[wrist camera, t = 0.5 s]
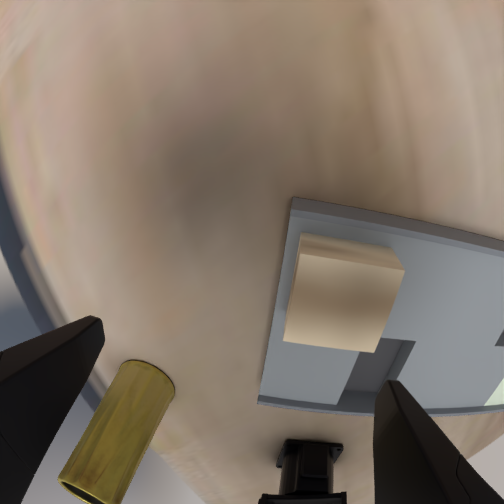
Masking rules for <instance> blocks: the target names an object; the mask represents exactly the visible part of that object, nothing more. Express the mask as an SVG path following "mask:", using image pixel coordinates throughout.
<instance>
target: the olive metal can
mask: <svg viewBox="0 0 504 504" xmlns="http://www.w3.org/2000/svg"><path fill="white" fill-rule="evenodd" d="M174 393H175V391H174V387H173V384H172V383H171V381H170V379H169V378H168V377H167V376H166V375H165V374H164V373H163V372H161V371H160V370H159V369H157V368H155V367H154V366H152V365H150V364H147V363H144V362H141V361H127V362H125V363H123V364H122V365H121V366H120V368H119V372H118V373H117V375H116V377H115V378H114V380H113V382H112V383H111V385H110V386H109V388H108V390H107V392H106V393H105V395H104V397H103V399H102V401H101V403H100V405H99V406H98V408H97V410H96V411H95V413H94V415H93V417H92V419H91V421H90V423H89V425H88V427H87V428H86V430H85V432H84V434H83V435H82V437H81V439H80V441H79V442H78V444H77V446H76V448H75V449H74V451H73V452H72V454H71V456H70V458H69V459H68V461H67V463H66V465H65V466H64V468H63V470H62V471H61V473H60V474H59V476H58V482H59V484H60V485H61V486H62V487H63V488H64V489H66V490H67V491H68V492H70V493H71V494H72V495H74V496H75V497H77V498H78V499H80V500H82V501H83V502H85V503H87V504H121V502H122V500H123V497H124V495H125V493H126V491H127V489H128V487H129V485H130V483H131V481H132V479H133V477H134V475H135V472H136V470H137V468H138V466H139V464H140V462H141V460H142V458H143V456H144V454H145V451H146V450H147V448H148V446H149V444H150V442H151V440H152V438H153V436H154V434H155V431H156V429H157V427H158V425H159V423H160V422H161V420H162V418H163V416H164V414H165V412H166V410H167V408H168V406H169V404H170V402H171V401H172V400H173V398H174Z"/></svg>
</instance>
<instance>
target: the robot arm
mask: <svg viewBox="0 0 504 504" xmlns="http://www.w3.org/2000/svg"><path fill="white" fill-rule="evenodd" d="M104 342H105V335H104V329H103V323H102V320H101V319H100V318H98V317H95V316H91V315H90V316H87V317H84V318H82V319H79V320H77V321H74V322H72V323H69V324H67V325H64V326H62V327H60V328H57V329H55V330H52V331H50V332H47V333H45V334H42V335H40V336H38V337H35V338H33V339H30V340H28V341H25V342H23V343H20V344H18V345H16V346H13V347H11V348H8V349H6V350H4V351H1V352H0V504H21V502H22V499H23V498H24V496H25V494H26V492H27V489H28V488H29V485H30V483H31V481H32V479H33V477H34V474H35V473H36V471H37V469H38V467H39V465H40V463H41V461H42V460H43V457H44V456H45V454H46V452H47V450H48V448H49V446H50V444H51V443H52V441H53V439H54V437H55V435H56V433H57V432H58V430H59V428H60V426H61V424H62V423H63V421H64V419H65V417H66V416H67V414H68V412H69V410H70V409H71V407H72V405H73V403H74V402H75V400H76V398H77V396H78V395H79V393H80V392H81V390H82V388H83V387H84V385H85V383H86V381H87V379H88V377H89V375H90V373H91V371H92V369H93V367H94V364H95V362H96V360H97V358H98V356H99V354H100V352H101V350H102V347H103V345H104ZM342 451H343V445H339V444H325V443H313V442H303V441H294V440H286V441H285V443H284V445H283V448H282V450H281V453H280V455H279V458H278V460H277V463H276V467H277V468H282V472H281V480H280V488H279V495H271V494H262V497H261V499H259V502H258V504H347V495H346V492H341V493H333V464H334V463H335V461H336V460H337V458H338V457H339V455H340V454H341V452H342ZM373 458H374V485H375V504H504V499H502V497H501V496H500V495H498V493H497V492H496V491H494V489H493V488H492V487H491V486H489V485H488V483H486V481H485V480H484V479H483V478H482V477H481V476H480V475H479V474H478V473H477V472H476V471H475V470H474V468H473V467H472V466H471V465H470V464H469V463H468V462H467V460H466V459H465V458H464V457H463V455H462V454H460V452H459V451H458V449H457V448H456V447H455V446H454V445H453V443H452V442H451V441H450V440H449V439H448V437H447V436H446V435H445V434H444V433H443V431H442V430H441V429H440V428H439V427H438V425H437V424H436V423H435V422H434V421H433V419H432V418H431V417H430V416H429V415H428V414H427V412H426V411H425V410H424V409H423V408H422V406H421V405H420V404H419V403H418V402H417V401H416V399H415V398H414V397H413V396H412V395H411V394H410V392H409V391H408V390H407V389H406V388H405V387H404V385H403V384H402V383H401V382H400V381H399V380H391V379H388V380H386V381H385V382H384V384H383V386H382V388H381V389H380V391H379V393H378V394H377V396H376V399H375V407H374V431H373Z"/></svg>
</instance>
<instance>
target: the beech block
mask: <svg viewBox="0 0 504 504" xmlns="http://www.w3.org/2000/svg"><path fill="white" fill-rule="evenodd" d="M404 273H405V270H404V268H403V266H402V264H401V263H400V261H399V259H398V258H397V256H396V254H395V253H394V251H393V249H392V248H391V247H386V246H380V245H374V244H369V243H363V242H357V241H352V240H346V239H340V238H334V237H328V236H322V235H316V234H310V233H304V232H301V235H300V241H299V247H298V252H297V258H296V263H295V268H294V274H293V279H292V284H291V289H290V295H289V300H288V305H287V310H286V317H285V326H284V335H283V341H286V342H293V343H299V344H306V345H313V346H321V347H328V348H336V349H344V350H353V351H362V352H371V353H374V352H375V349H376V347H377V345H378V342H379V340H380V337H381V335H382V333H383V330H384V328H385V325H386V323H387V320H388V317H389V315H390V312H391V310H392V307H393V304H394V302H395V299H396V296H397V293H398V290H399V288H400V285H401V282H402V279H403V276H404Z"/></svg>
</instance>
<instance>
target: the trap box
mask: <svg viewBox="0 0 504 504" xmlns="http://www.w3.org/2000/svg"><path fill="white" fill-rule="evenodd" d="M301 232H304V233H310V234H316V235H322V236H328V237H334V238H340V239H346V240H352V241H357V242H363V243H369V244H374V245H380V246H386V247H391V248H392V249H393V251H394V253H395V254H396V256H397V258H398V259H399V261H400V263H401V264H402V266H403V268H404V270H405V273H404V276H403V279H402V282H401V285H400V288H399V290H398V293H397V296H396V299H395V302H394V304H393V307H392V310H391V312H390V315H389V317H388V320H387V323H386V325H385V328H384V330H383V333H382V335H381V337H380V340H379V342H378V345H377V347H376V349H375V352H374V353H371V352H362V351H353V350H344V349H336V348H328V347H321V346H313V345H306V344H299V343H293V342H286V341H283V335H284V326H285V317H286V310H287V305H288V300H289V295H290V289H291V284H292V279H293V274H294V268H295V263H296V258H297V252H298V247H299V241H300V235H301ZM388 379H391V380H399V381H400V382H401V383H402V384H403V385H404V387H405V388H406V389H407V390H408V391H409V392H410V394H411V395H412V396H413V397H414V398H415V399H416V401H417V402H418V403H419V404H420V405H421V406H422V408H423V409H424V410H425V411H426V412H427V414H428V415H429V416H430V417H442V416H460V415H474V414H485V413H494V412H502V411H504V241H501V240H497V239H494V238H490V237H486V236H482V235H478V234H474V233H470V232H466V231H462V230H458V229H454V228H450V227H445V226H441V225H437V224H432V223H428V222H423V221H419V220H414V219H410V218H405V217H400V216H395V215H390V214H386V213H381V212H376V211H370V210H365V209H360V208H355V207H349V206H344V205H338V204H333V203H327V202H321V201H315V200H309V199H303V198H297V197H293V199H292V206H291V213H290V219H289V225H288V232H287V238H286V244H285V251H284V257H283V263H282V269H281V275H280V281H279V286H278V292H277V298H276V304H275V309H274V315H273V321H272V326H271V332H270V337H269V343H268V348H267V353H266V359H265V364H264V369H263V374H262V380H261V385H260V390H259V396H258V401H257V404H261V405H267V406H273V407H280V408H287V409H294V410H302V411H311V412H320V413H330V414H342V415H357V416H374V407H375V399H376V396H377V394H378V393H379V391H380V389H381V388H382V386H383V384H384V382H385V381H386V380H388Z"/></svg>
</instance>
